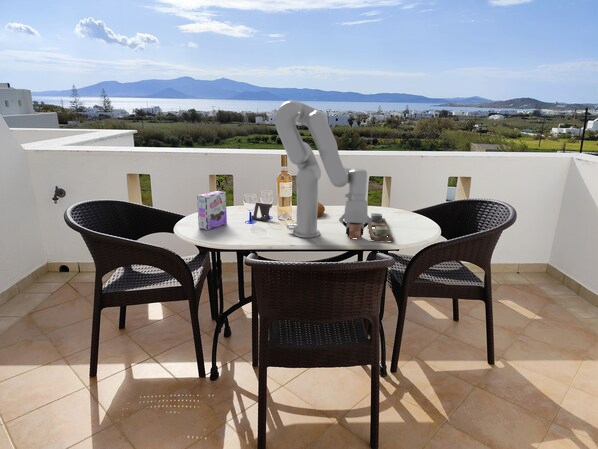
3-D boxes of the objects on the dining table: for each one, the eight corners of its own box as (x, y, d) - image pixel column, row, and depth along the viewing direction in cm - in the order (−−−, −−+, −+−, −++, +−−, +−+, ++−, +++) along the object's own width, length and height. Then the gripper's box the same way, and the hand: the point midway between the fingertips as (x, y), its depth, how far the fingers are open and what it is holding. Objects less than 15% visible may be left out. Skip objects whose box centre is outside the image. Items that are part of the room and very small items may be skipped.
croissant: (324, 215, 224) (325, 201, 223) (323, 218, 208) (324, 203, 207) (299, 213, 225) (300, 199, 224) (296, 216, 210) (297, 201, 209)
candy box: (207, 230, 184) (205, 196, 180) (198, 228, 187) (196, 194, 183) (227, 224, 195) (226, 191, 191) (218, 222, 199) (217, 190, 194)
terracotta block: (348, 239, 177) (349, 224, 175) (348, 235, 182) (349, 221, 180) (360, 239, 176) (361, 224, 174) (359, 236, 181) (360, 221, 179)
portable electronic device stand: (250, 219, 204) (250, 204, 202) (258, 216, 211) (258, 200, 209) (265, 221, 201) (265, 206, 198) (273, 218, 208) (273, 202, 205)
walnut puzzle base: (371, 241, 174) (371, 230, 173) (366, 221, 205) (366, 211, 204) (392, 242, 174) (393, 231, 172) (384, 222, 205) (385, 212, 203)
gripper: (337, 198, 171) (335, 237, 176) (377, 199, 169) (374, 239, 175) (337, 194, 178) (335, 232, 183) (375, 196, 177) (372, 234, 182)
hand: (354, 235), depth 179 cm, fingers closed on terracotta block, 5 cm apart
